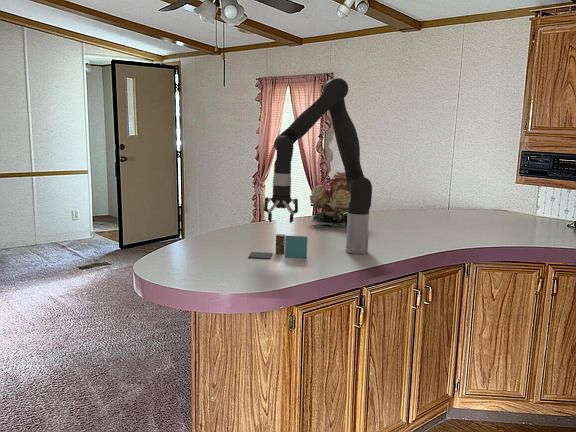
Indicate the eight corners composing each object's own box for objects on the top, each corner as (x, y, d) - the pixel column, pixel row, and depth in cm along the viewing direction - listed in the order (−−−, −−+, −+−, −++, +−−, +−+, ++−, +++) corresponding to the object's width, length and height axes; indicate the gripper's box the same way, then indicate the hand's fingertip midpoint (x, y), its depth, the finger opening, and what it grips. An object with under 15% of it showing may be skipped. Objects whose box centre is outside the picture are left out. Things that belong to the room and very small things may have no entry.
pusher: (284, 252, 227) (285, 234, 226) (283, 254, 224) (284, 235, 222) (276, 252, 227) (276, 233, 226) (275, 254, 224) (275, 235, 223)
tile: (306, 257, 219) (307, 236, 218) (306, 258, 218) (307, 236, 216) (284, 256, 220) (285, 235, 218) (284, 257, 218) (285, 236, 217)
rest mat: (272, 254, 223) (272, 252, 223) (270, 259, 214) (270, 257, 214) (251, 253, 224) (251, 251, 224) (248, 258, 215) (248, 256, 215)
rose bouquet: (303, 221, 310) (305, 170, 305) (346, 219, 322) (348, 169, 317) (324, 228, 287) (326, 173, 282) (369, 226, 299) (372, 173, 294)
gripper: (299, 184, 224) (297, 221, 227) (266, 182, 225) (264, 220, 227) (298, 185, 217) (296, 224, 219) (264, 184, 218) (262, 222, 220)
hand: (280, 222), depth 223 cm, fingers open, 8 cm apart
